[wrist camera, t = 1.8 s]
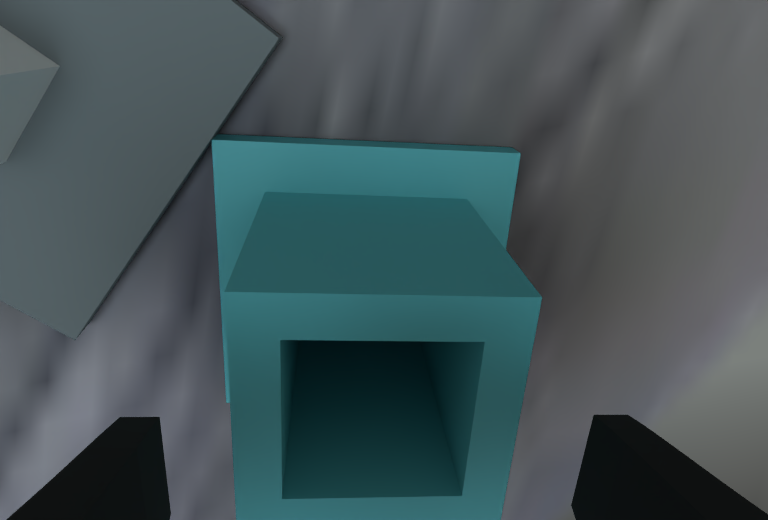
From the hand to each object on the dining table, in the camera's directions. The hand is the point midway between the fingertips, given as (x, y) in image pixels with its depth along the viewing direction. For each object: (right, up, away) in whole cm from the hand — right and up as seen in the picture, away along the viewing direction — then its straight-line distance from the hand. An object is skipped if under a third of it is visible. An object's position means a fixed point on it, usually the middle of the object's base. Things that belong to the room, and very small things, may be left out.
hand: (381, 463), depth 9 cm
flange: (-1, +3, +7) cm, 8 cm away
